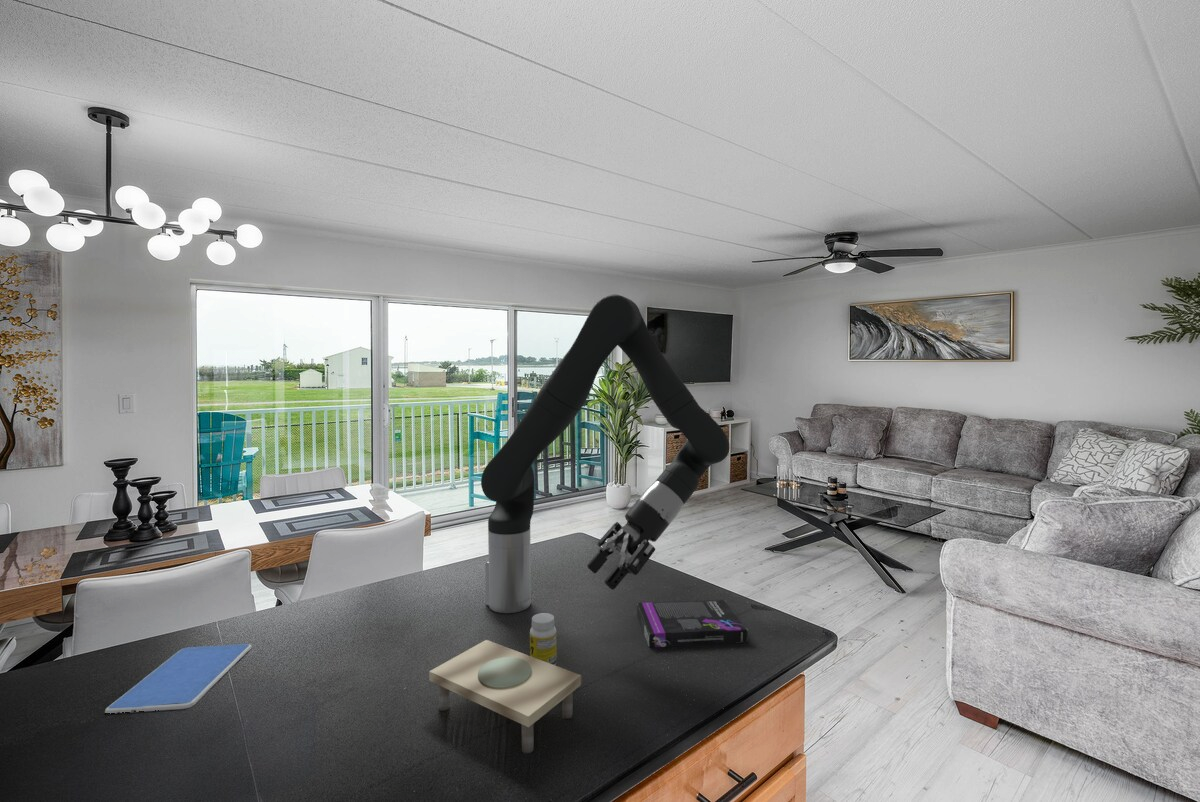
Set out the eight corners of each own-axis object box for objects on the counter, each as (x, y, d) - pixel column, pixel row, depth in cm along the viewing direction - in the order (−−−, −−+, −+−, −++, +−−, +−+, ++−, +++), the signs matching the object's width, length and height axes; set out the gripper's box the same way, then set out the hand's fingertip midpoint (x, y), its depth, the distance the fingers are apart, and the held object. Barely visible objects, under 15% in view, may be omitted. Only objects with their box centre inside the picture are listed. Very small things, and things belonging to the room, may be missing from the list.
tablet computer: (190, 711, 85) (190, 703, 85) (101, 718, 83) (100, 709, 83) (254, 649, 104) (254, 642, 104) (182, 653, 102) (181, 646, 102)
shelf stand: (429, 709, 84) (429, 668, 84) (486, 673, 94) (486, 637, 94) (528, 760, 73) (528, 713, 73) (581, 713, 83) (581, 672, 83)
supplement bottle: (530, 657, 100) (530, 612, 99) (556, 656, 100) (556, 611, 100) (529, 671, 95) (529, 624, 95) (556, 670, 95) (556, 623, 95)
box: (648, 652, 103) (749, 645, 105) (648, 634, 103) (748, 627, 105) (636, 618, 117) (725, 613, 119) (636, 602, 117) (725, 597, 119)
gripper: (626, 490, 110) (572, 554, 106) (660, 506, 97) (600, 579, 93) (649, 514, 112) (597, 577, 109) (686, 532, 99) (628, 605, 96)
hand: (599, 578), depth 101 cm, fingers open, 8 cm apart
